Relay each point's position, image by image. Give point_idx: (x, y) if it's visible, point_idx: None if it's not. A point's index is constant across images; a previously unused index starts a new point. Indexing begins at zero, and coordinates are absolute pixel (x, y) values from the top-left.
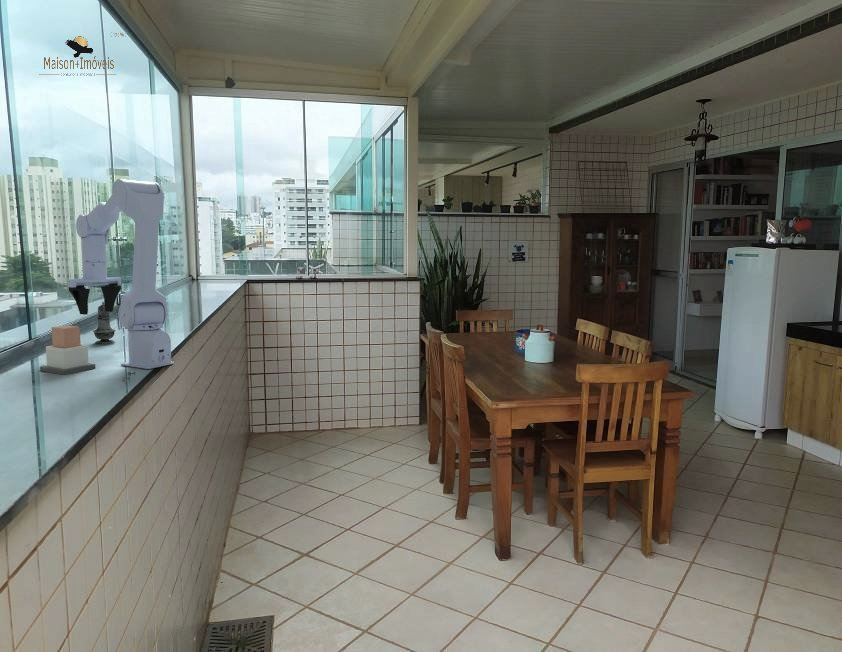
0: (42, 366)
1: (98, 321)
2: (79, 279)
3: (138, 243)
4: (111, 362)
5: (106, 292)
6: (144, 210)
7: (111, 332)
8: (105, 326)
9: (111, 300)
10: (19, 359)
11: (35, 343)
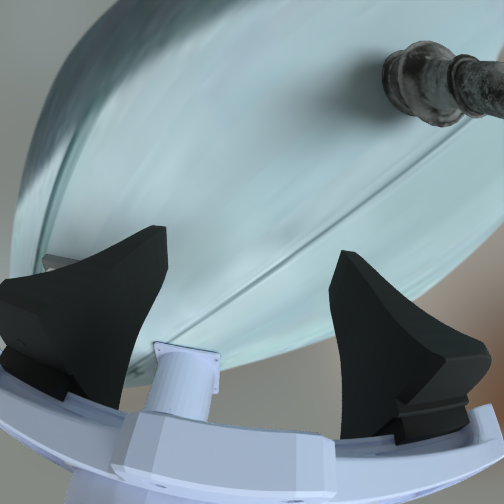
0: (44, 263)
1: (443, 68)
2: (29, 445)
3: None
4: (164, 313)
5: (375, 363)
6: None
7: (431, 121)
8: (438, 100)
9: (341, 349)
10: (65, 100)
11: None
